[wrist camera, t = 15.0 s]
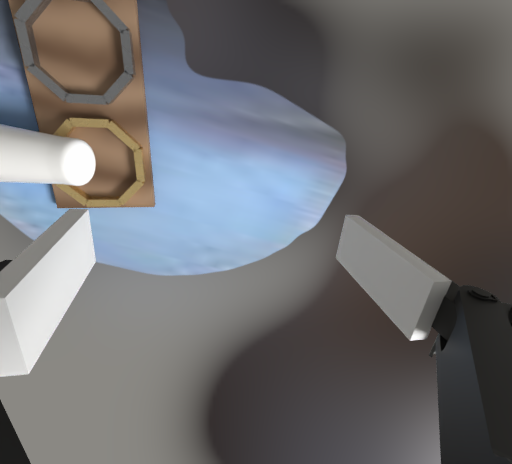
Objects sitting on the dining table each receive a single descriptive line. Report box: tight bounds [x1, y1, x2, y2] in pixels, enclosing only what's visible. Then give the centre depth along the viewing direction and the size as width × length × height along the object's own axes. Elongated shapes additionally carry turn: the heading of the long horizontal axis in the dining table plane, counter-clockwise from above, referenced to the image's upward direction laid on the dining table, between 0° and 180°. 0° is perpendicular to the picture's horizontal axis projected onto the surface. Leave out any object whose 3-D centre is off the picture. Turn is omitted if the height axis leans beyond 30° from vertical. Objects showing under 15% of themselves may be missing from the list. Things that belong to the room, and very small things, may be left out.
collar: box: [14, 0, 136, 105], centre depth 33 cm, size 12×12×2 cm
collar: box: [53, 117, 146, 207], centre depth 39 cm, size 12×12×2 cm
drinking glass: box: [0, 124, 96, 186], centre depth 34 cm, size 7×7×15 cm
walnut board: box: [8, 0, 155, 208], centre depth 37 cm, size 26×13×1 cm, turn 177°
